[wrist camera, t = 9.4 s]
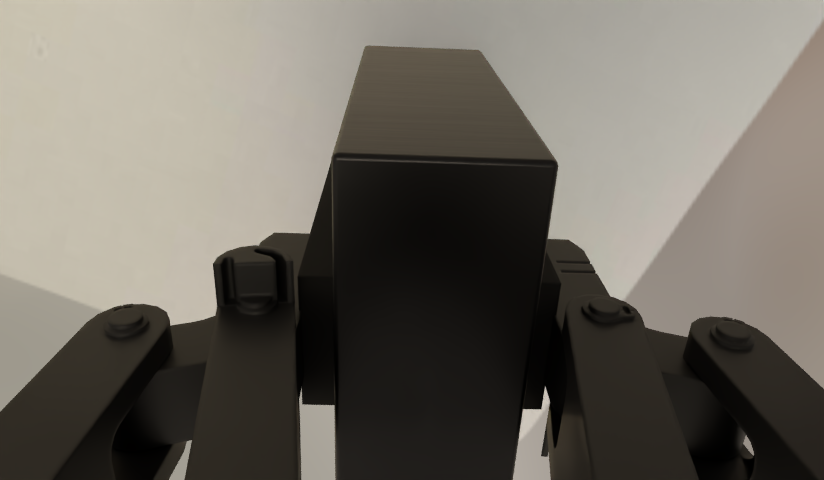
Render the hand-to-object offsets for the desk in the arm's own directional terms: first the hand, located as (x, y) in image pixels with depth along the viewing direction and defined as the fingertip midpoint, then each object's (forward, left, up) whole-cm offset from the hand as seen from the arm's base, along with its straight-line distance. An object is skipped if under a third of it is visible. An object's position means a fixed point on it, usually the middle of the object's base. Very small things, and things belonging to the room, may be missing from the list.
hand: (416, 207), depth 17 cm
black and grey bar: (0, +5, -1) cm, 5 cm away
